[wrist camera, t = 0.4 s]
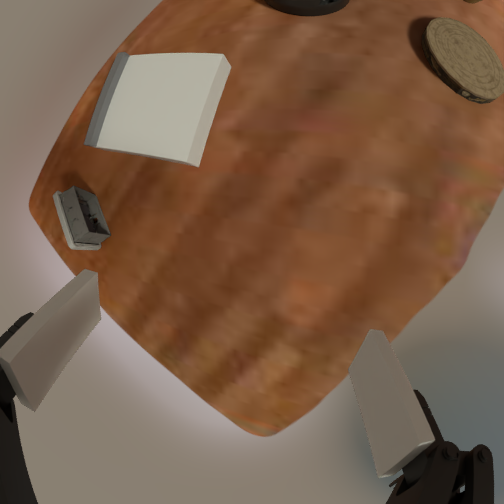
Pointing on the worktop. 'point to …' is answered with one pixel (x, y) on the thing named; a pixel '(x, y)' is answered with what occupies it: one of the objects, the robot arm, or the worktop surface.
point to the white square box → (159, 105)
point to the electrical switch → (81, 219)
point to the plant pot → (472, 1)
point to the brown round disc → (463, 60)
